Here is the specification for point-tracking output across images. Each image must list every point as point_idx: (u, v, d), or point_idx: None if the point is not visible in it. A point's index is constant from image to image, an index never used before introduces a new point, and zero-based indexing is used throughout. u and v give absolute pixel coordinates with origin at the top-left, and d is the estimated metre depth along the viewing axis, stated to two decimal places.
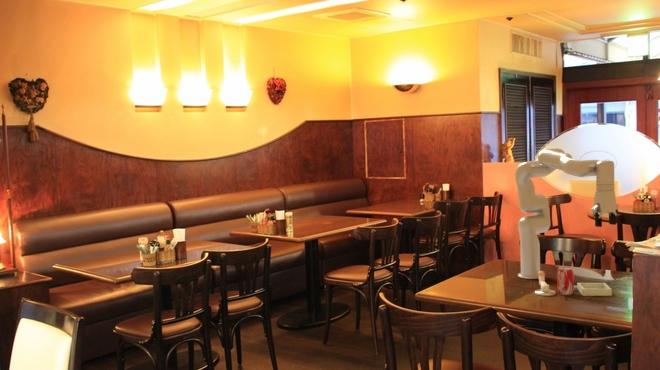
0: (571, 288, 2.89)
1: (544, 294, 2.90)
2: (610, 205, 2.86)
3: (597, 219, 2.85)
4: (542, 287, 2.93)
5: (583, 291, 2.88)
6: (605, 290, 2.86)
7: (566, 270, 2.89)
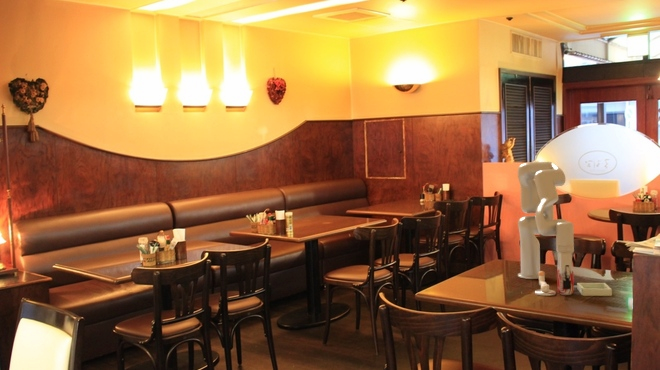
0: (571, 288, 2.89)
1: (544, 294, 2.90)
2: None
3: (567, 282, 2.87)
4: (542, 287, 2.93)
5: (583, 291, 2.88)
6: (605, 290, 2.86)
7: None
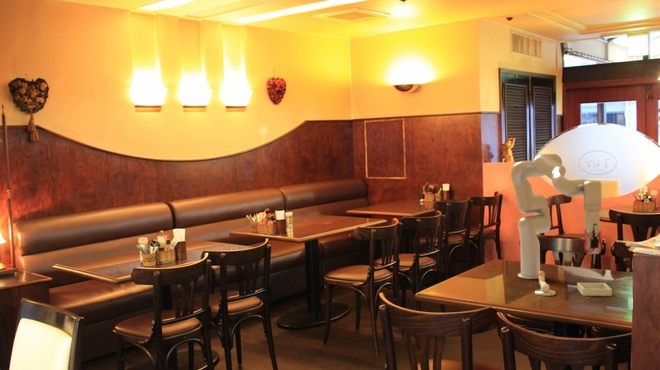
0: (599, 247, 2.89)
1: (544, 294, 2.90)
2: None
3: (595, 240, 2.87)
4: (542, 287, 2.93)
5: (583, 291, 2.88)
6: (605, 290, 2.86)
7: None
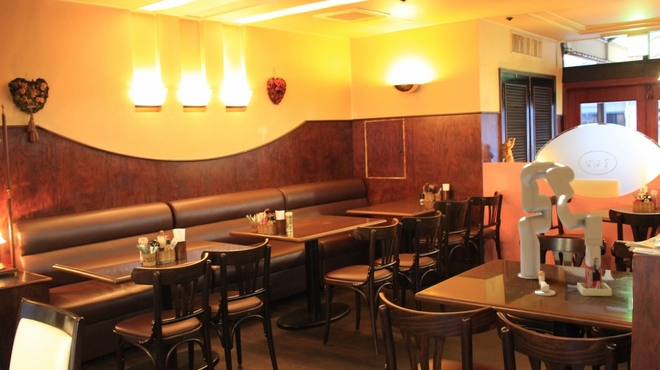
0: (599, 285, 2.90)
1: (544, 294, 2.90)
2: None
3: (597, 274, 2.87)
4: (542, 287, 2.93)
5: (583, 291, 2.88)
6: (605, 290, 2.86)
7: None
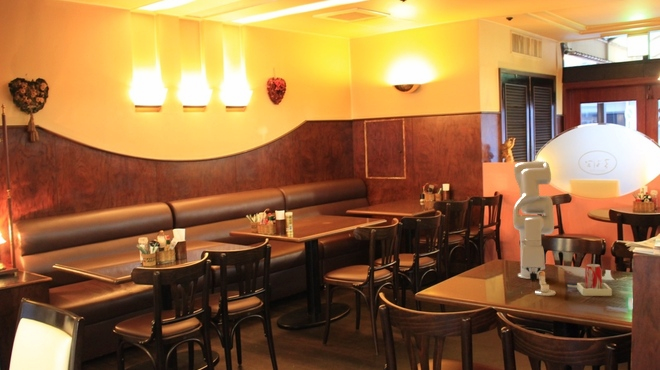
0: (599, 285, 2.90)
1: (544, 294, 2.90)
2: None
3: (536, 274, 3.04)
4: (542, 287, 2.93)
5: (583, 291, 2.88)
6: (605, 290, 2.86)
7: (594, 267, 2.90)
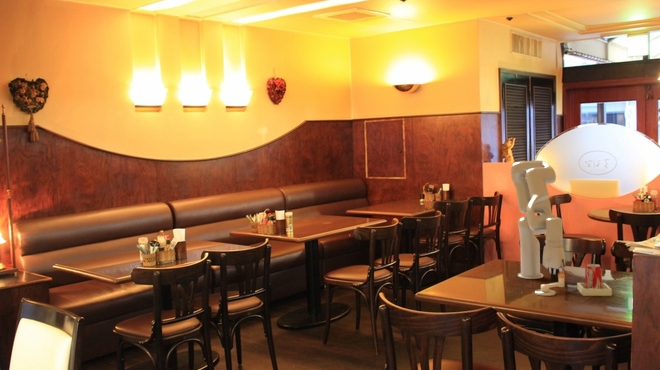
0: (599, 285, 2.90)
1: (544, 294, 2.90)
2: None
3: (557, 275, 3.00)
4: (541, 286, 2.95)
5: (583, 291, 2.88)
6: (605, 290, 2.86)
7: (594, 267, 2.90)
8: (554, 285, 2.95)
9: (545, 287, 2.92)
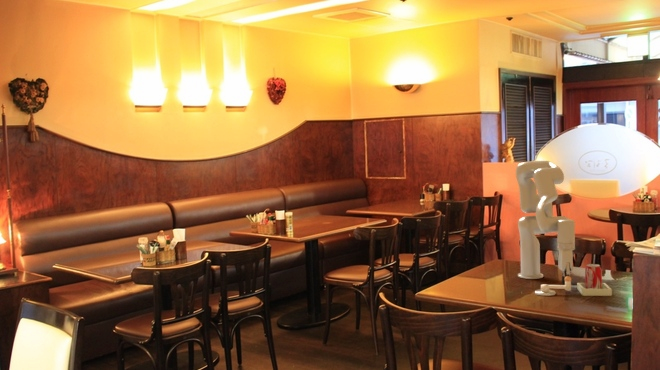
0: (599, 285, 2.90)
1: (544, 294, 2.90)
2: None
3: None
4: None
5: (583, 291, 2.88)
6: (605, 290, 2.86)
7: (594, 267, 2.90)
8: (556, 287, 2.92)
9: (542, 287, 2.93)
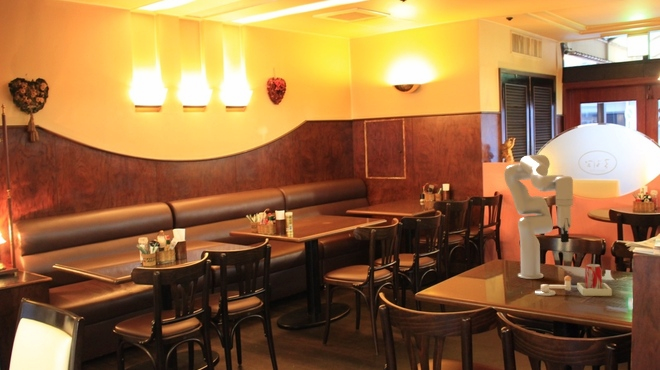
0: (599, 285, 2.90)
1: (544, 294, 2.90)
2: None
3: (565, 235, 2.95)
4: None
5: (583, 291, 2.88)
6: (605, 290, 2.86)
7: (594, 267, 2.90)
8: (556, 287, 2.92)
9: (542, 287, 2.93)
